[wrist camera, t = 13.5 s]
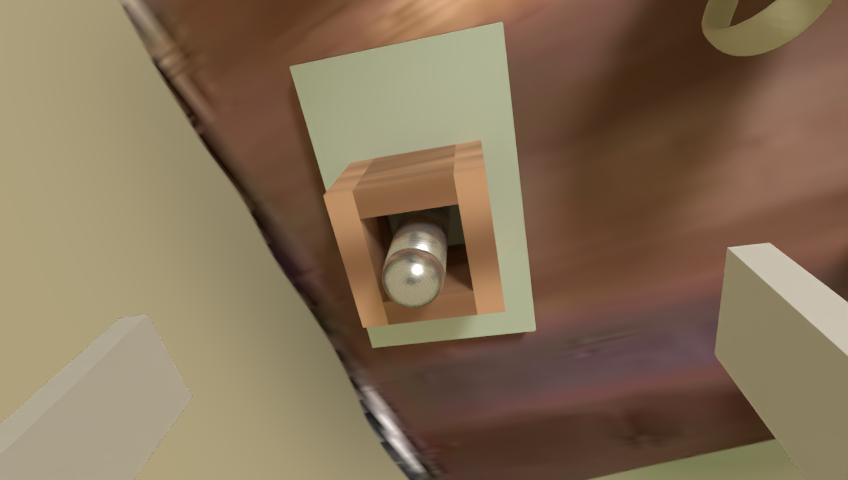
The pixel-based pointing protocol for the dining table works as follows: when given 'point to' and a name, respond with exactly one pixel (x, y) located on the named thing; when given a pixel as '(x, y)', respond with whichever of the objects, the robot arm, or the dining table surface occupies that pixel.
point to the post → (417, 257)
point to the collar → (409, 191)
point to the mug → (758, 25)
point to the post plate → (429, 146)
